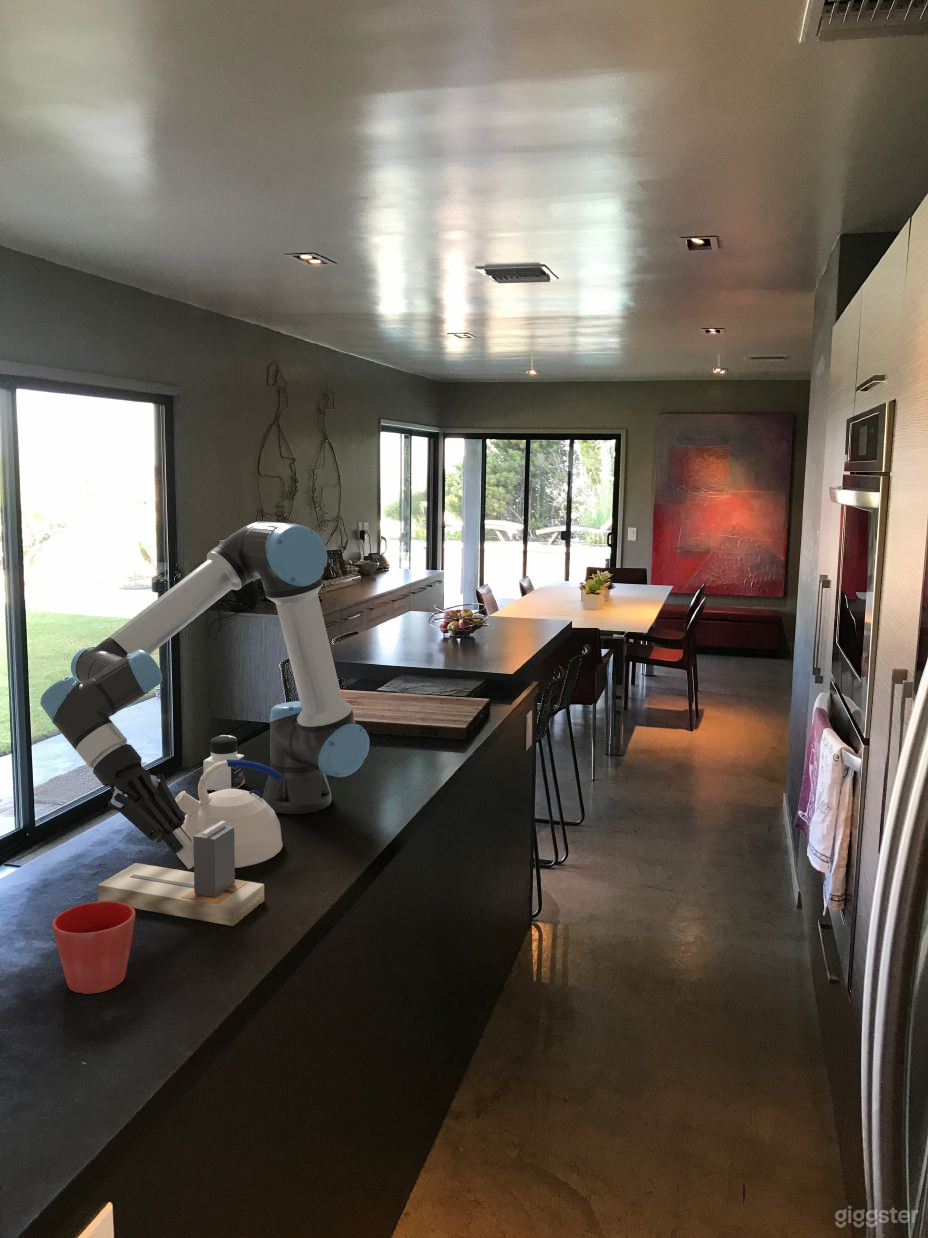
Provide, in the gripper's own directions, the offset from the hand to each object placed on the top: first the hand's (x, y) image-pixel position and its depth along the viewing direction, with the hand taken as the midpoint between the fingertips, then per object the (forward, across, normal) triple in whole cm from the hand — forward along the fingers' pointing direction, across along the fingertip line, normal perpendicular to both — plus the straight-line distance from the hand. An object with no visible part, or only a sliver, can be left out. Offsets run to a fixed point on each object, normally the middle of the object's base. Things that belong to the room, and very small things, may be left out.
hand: (196, 863), depth 158 cm
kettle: (0, -24, -12) cm, 26 cm away
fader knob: (+5, 0, -1) cm, 5 cm away
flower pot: (+6, +26, -5) cm, 27 cm away
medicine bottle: (-15, -56, -26) cm, 64 cm away
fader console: (+3, 0, -8) cm, 8 cm away
